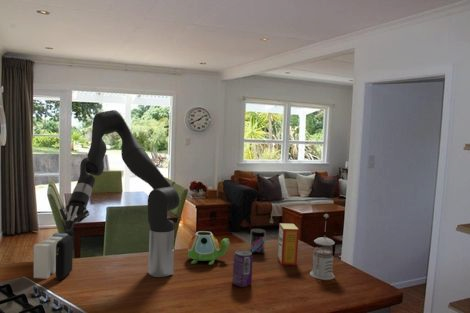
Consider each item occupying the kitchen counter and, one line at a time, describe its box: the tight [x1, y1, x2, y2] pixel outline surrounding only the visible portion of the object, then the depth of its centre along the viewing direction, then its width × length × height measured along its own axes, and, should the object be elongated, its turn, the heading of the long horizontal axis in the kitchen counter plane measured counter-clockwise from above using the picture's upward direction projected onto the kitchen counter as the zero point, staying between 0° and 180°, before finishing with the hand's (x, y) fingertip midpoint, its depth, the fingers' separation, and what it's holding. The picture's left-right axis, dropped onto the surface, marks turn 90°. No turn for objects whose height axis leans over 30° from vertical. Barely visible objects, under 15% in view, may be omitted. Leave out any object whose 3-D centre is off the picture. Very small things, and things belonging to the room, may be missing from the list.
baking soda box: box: [277, 222, 300, 266], centre depth 165 cm, size 10×6×16 cm
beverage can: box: [231, 249, 254, 288], centre depth 139 cm, size 7×7×12 cm
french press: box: [309, 213, 336, 281], centre depth 150 cm, size 10×12×25 cm
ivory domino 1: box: [33, 243, 51, 280], centre depth 136 cm, size 2×5×12 cm, turn 89°
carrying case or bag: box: [55, 234, 74, 281], centre depth 137 cm, size 11×3×15 cm, turn 1°
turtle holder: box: [187, 230, 230, 265], centre depth 162 cm, size 12×18×12 cm
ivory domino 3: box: [40, 239, 57, 275], centre depth 141 cm, size 2×5×12 cm, turn 89°
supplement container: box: [249, 228, 266, 255], centre depth 175 cm, size 7×7×10 cm
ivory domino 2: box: [46, 236, 62, 242], centre depth 145 cm, size 2×5×12 cm, turn 89°
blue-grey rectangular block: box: [52, 232, 69, 238], centre depth 150 cm, size 2×5×12 cm, turn 89°
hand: (67, 230), depth 155 cm, fingers closed
